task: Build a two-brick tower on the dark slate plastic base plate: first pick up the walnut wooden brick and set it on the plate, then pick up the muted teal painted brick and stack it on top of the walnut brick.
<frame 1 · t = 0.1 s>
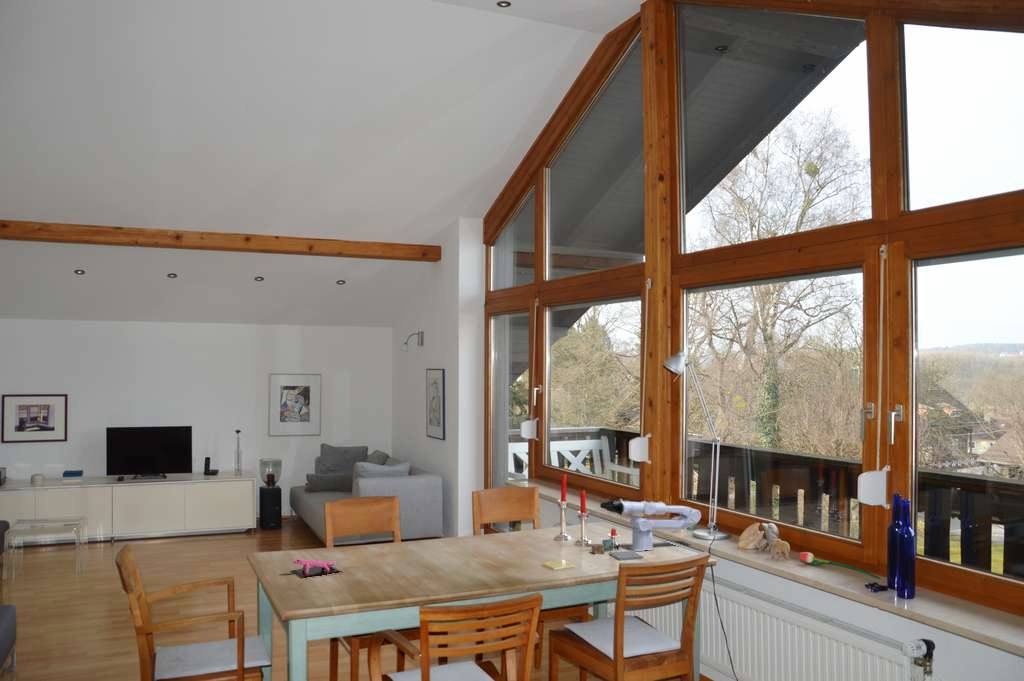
hand: (603, 506, 399), 22 cm above the table, tool horizontal, fingers open, 7 cm apart
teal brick: (608, 548, 406), on the table
pink animal figurine: (315, 574, 357), on the table
base plate: (625, 556, 389), on the table
walnut brick: (597, 553, 396), on the table
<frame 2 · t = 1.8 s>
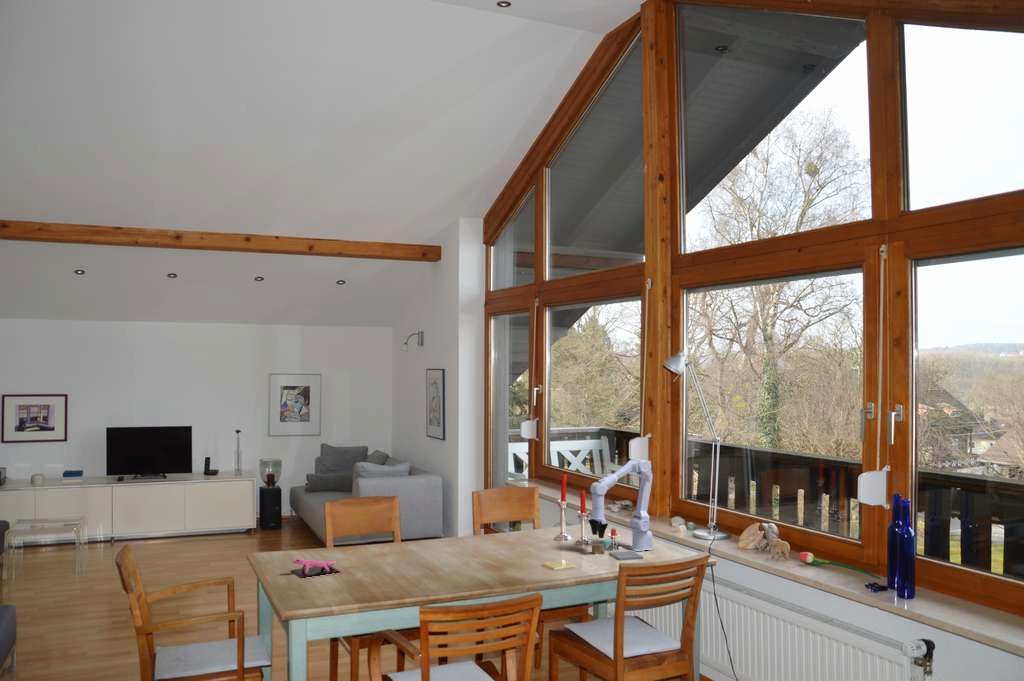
hand: (597, 536, 396), 8 cm above the table, tool pointing down, fingers open, 7 cm apart
nothing on the table moved.
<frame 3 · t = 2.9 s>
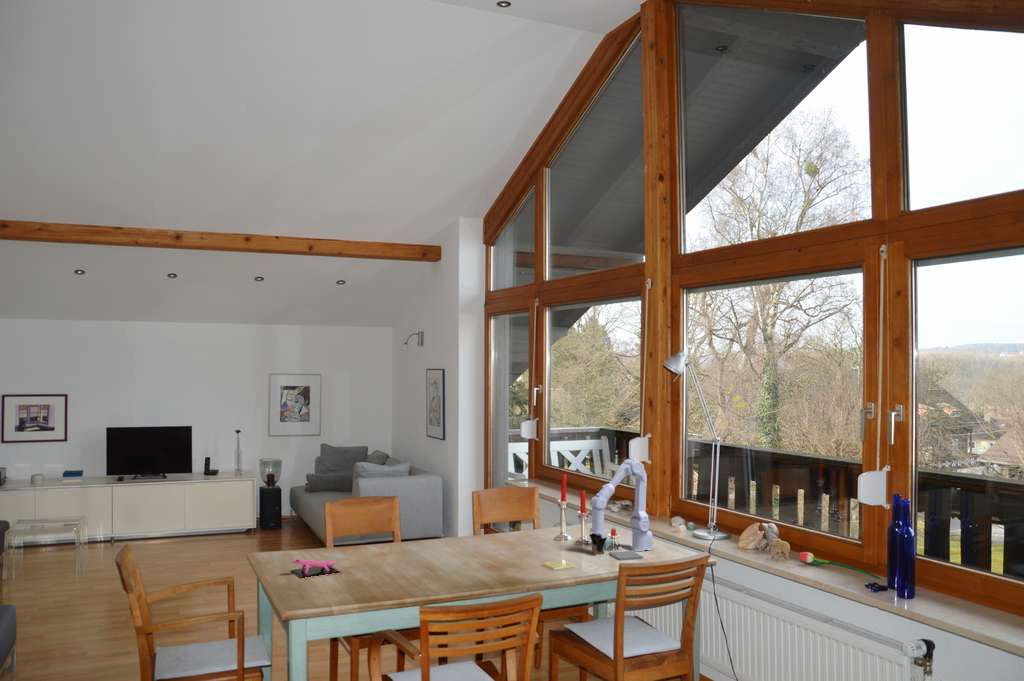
hand: (597, 550, 396), 1 cm above the table, tool pointing down, fingers closed on walnut brick, 4 cm apart
walnut brick: (597, 553, 396), on the table, touching gripper
everything else where it was.
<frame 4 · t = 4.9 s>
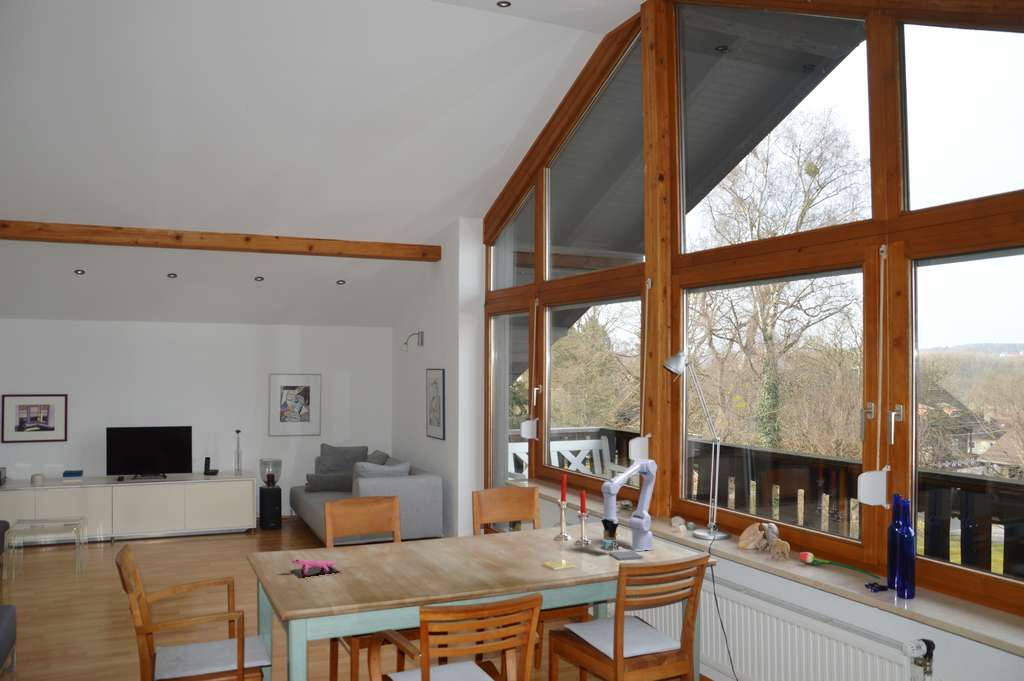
hand: (610, 536, 393), 9 cm above the table, tool pointing down, fingers closed on walnut brick, 4 cm apart
walnut brick: (609, 539, 393), point 7 cm above the table, touching gripper
everything else where it was.
when the fingers open (3 cm above the table, at t = 6.9 s): walnut brick stays where it is, resting on base plate.
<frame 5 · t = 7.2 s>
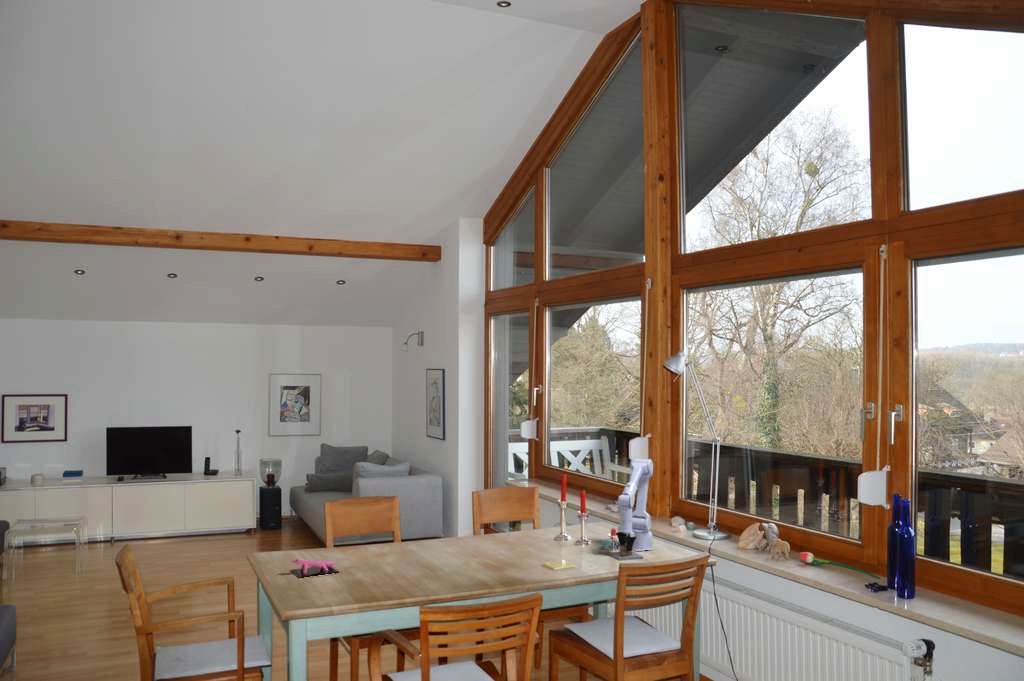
hand: (625, 549, 389), 3 cm above the table, tool pointing down, fingers open, 7 cm apart
walnut brick: (625, 554, 389), point 1 cm above the table, touching base plate
everything else where it was.
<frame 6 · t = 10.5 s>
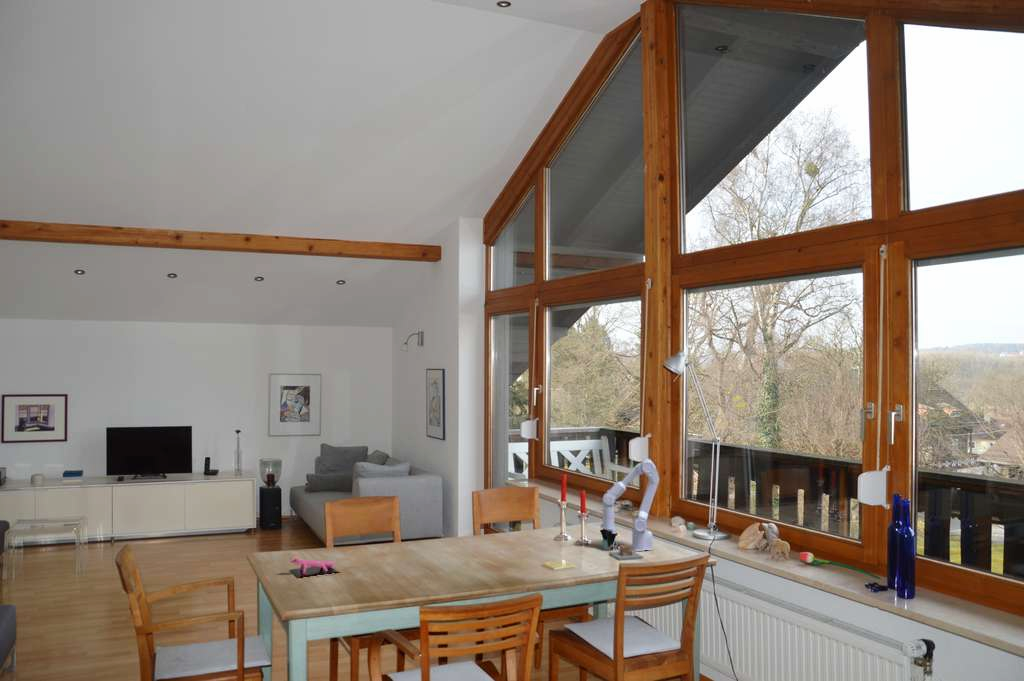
hand: (608, 545, 406), 1 cm above the table, tool pointing down, fingers closed on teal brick, 4 cm apart
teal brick: (608, 548, 406), on the table, touching gripper
everything else where it was.
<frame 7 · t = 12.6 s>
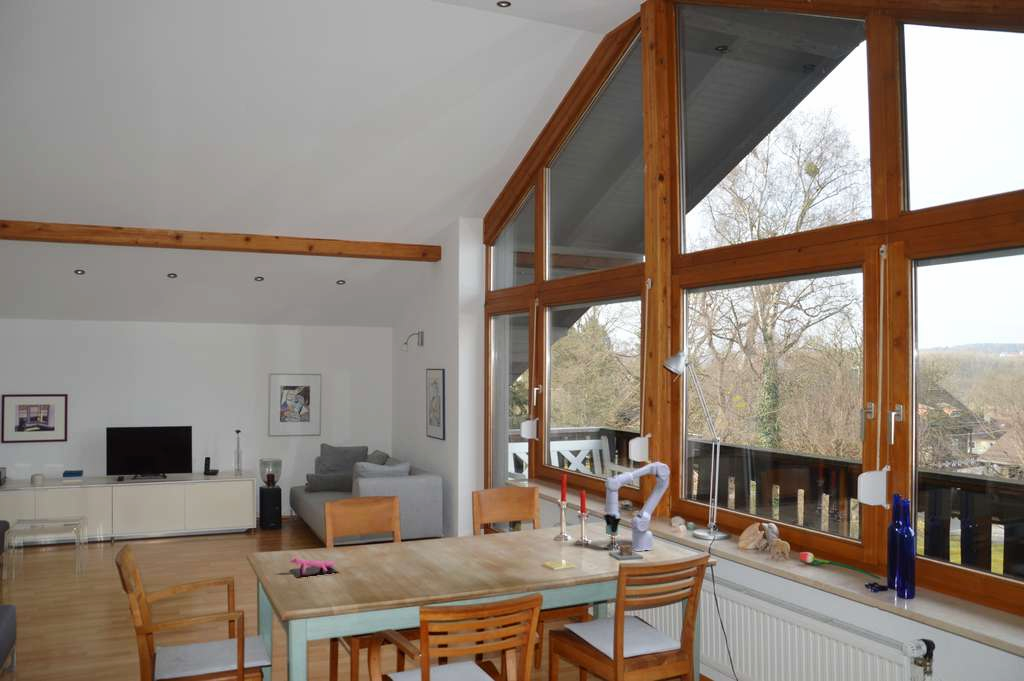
hand: (612, 530, 403), 9 cm above the table, tool pointing down, fingers closed on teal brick, 4 cm apart
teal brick: (611, 533, 403), point 8 cm above the table, touching gripper
when the fingers open (7 cm above the table, at t = 14.5 s): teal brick stays where it is, resting on walnut brick.
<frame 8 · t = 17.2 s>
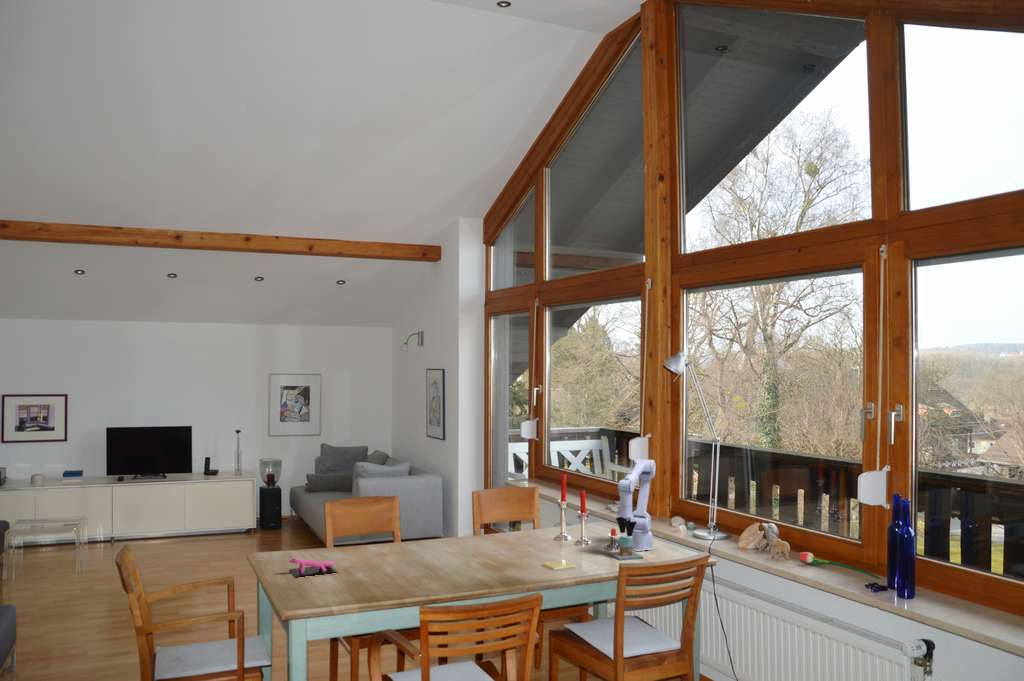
hand: (626, 534, 389), 10 cm above the table, tool pointing down, fingers open, 7 cm apart
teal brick: (625, 546, 389), point 5 cm above the table, touching walnut brick
walnut brick: (625, 554, 389), point 1 cm above the table, touching base plate, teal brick
at the end: walnut brick inside the target area on the base plate (0.1 cm from its centre), point 1.0 cm above the base plate's base; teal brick 0.1 cm off-centre on the walnut brick, point 4.0 cm above the walnut brick's base; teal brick tilted 0° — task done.
